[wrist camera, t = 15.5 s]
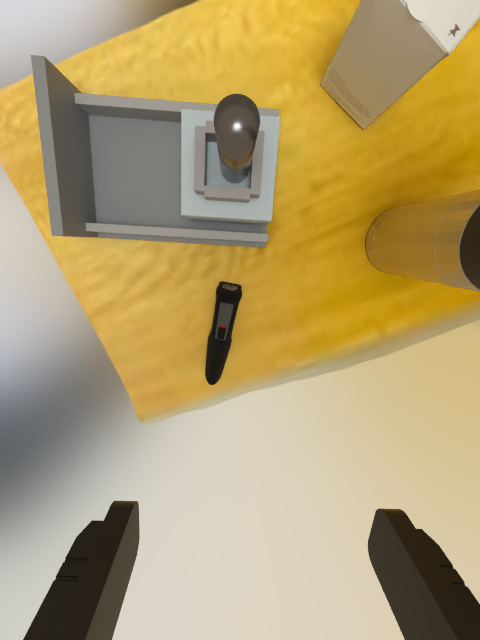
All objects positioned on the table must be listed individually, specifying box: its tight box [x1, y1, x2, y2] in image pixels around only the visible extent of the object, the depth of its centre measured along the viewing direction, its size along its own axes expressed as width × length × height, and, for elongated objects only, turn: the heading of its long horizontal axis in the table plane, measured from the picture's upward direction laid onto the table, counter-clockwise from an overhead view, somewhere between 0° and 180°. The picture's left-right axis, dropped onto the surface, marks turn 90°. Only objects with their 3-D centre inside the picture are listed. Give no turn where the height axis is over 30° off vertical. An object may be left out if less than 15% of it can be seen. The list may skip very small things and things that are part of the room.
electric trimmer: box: [205, 282, 242, 385], centre depth 42 cm, size 4×16×3 cm, turn 168°
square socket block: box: [181, 109, 280, 224], centre depth 32 cm, size 10×10×10 cm
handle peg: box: [214, 94, 260, 184], centre depth 24 cm, size 3×3×12 cm
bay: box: [31, 55, 279, 247], centre depth 33 cm, size 24×16×9 cm, turn 87°
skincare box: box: [320, 0, 480, 129], centre depth 27 cm, size 8×7×16 cm
